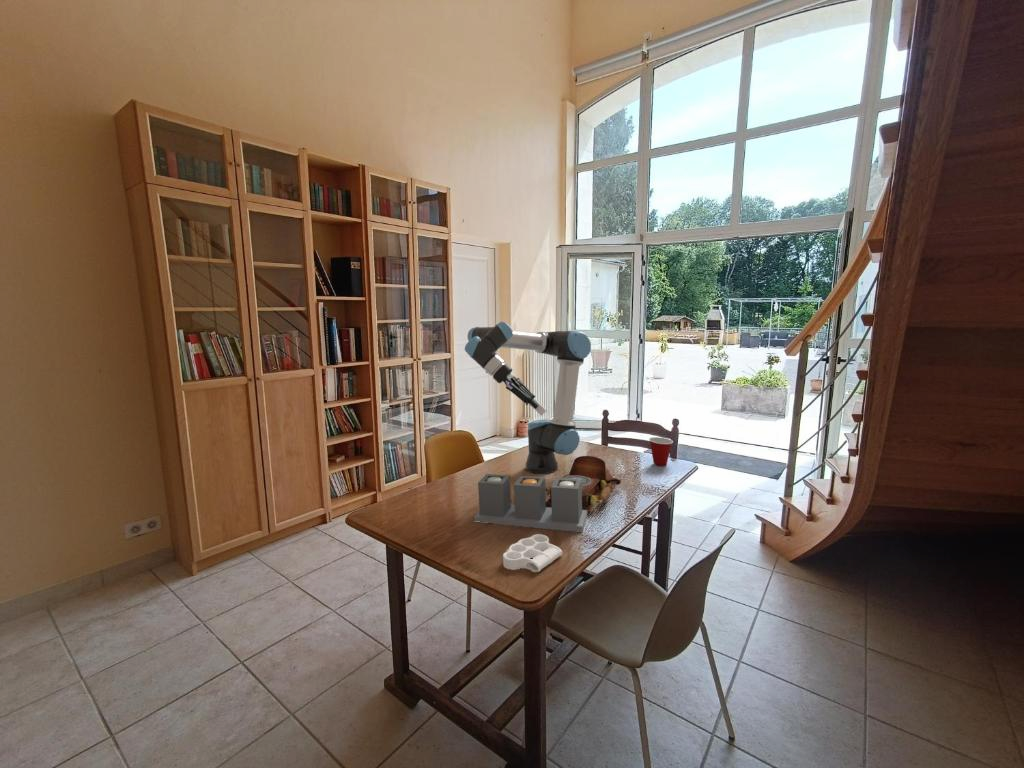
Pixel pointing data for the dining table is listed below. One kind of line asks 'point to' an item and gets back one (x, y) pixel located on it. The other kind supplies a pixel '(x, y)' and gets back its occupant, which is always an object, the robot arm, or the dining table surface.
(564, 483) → the cream button
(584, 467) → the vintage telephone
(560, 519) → the button stand
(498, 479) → the sage button
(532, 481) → the orange button
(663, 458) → the plastic cup
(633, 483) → the dining table surface
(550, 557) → the white brass knuckles
